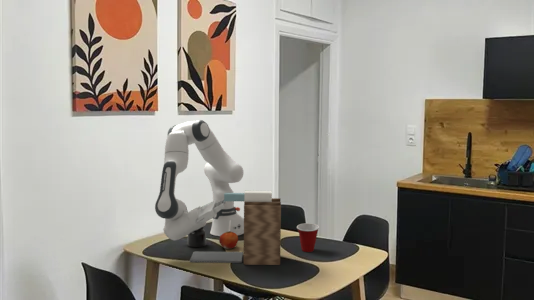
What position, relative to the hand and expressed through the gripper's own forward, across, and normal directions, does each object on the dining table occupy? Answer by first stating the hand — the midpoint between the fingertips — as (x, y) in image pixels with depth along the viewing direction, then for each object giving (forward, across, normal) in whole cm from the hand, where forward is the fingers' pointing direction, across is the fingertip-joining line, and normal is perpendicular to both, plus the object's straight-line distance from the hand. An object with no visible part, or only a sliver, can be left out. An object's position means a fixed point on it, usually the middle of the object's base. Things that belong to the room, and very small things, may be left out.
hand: (224, 202), depth 226 cm
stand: (+2, 0, +31) cm, 31 cm away
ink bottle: (-27, +21, +15) cm, 37 cm away
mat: (-16, +2, +20) cm, 26 cm away
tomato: (-13, +18, +23) cm, 32 cm away
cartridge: (+9, 0, +5) cm, 10 cm away
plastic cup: (+20, +14, +42) cm, 49 cm away
